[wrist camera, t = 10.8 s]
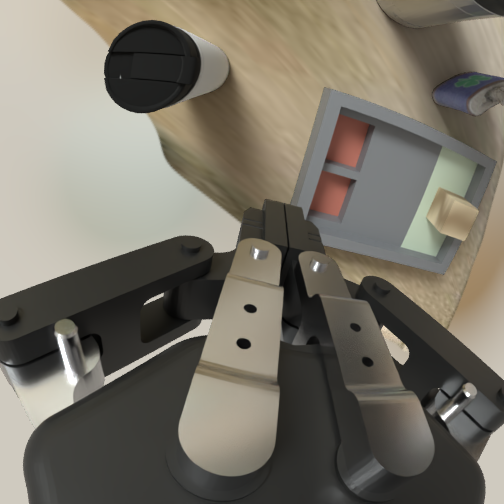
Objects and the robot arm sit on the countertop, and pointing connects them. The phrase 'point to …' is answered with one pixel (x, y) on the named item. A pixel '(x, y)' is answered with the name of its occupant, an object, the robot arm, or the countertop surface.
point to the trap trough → (384, 182)
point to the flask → (470, 92)
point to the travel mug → (161, 67)
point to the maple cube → (452, 214)
